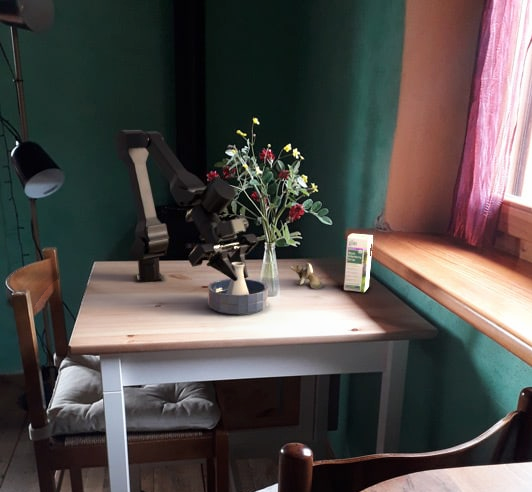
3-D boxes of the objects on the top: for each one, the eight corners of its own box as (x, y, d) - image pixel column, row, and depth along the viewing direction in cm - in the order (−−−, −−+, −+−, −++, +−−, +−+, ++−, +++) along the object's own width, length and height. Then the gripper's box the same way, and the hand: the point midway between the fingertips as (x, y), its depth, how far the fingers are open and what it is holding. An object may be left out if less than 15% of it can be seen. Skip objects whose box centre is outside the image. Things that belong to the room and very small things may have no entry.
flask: (256, 307, 147) (257, 266, 144) (226, 309, 145) (227, 268, 141) (247, 298, 154) (248, 259, 150) (219, 300, 151) (219, 260, 148)
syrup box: (343, 290, 164) (346, 236, 159) (348, 284, 169) (352, 232, 164) (364, 293, 162) (368, 238, 157) (369, 287, 167) (373, 234, 162)
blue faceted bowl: (205, 299, 154) (204, 279, 153) (260, 296, 157) (260, 277, 156) (212, 317, 142) (212, 296, 140) (272, 314, 144) (273, 294, 143)
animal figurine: (283, 278, 169) (302, 280, 161) (294, 255, 170) (312, 256, 162) (303, 290, 173) (322, 293, 165) (313, 267, 174) (333, 269, 166)
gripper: (195, 209, 137) (230, 267, 134) (253, 200, 150) (286, 253, 147) (174, 238, 145) (206, 293, 142) (231, 228, 158) (261, 278, 155)
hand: (241, 278), depth 146 cm, fingers closed on flask, 3 cm apart
